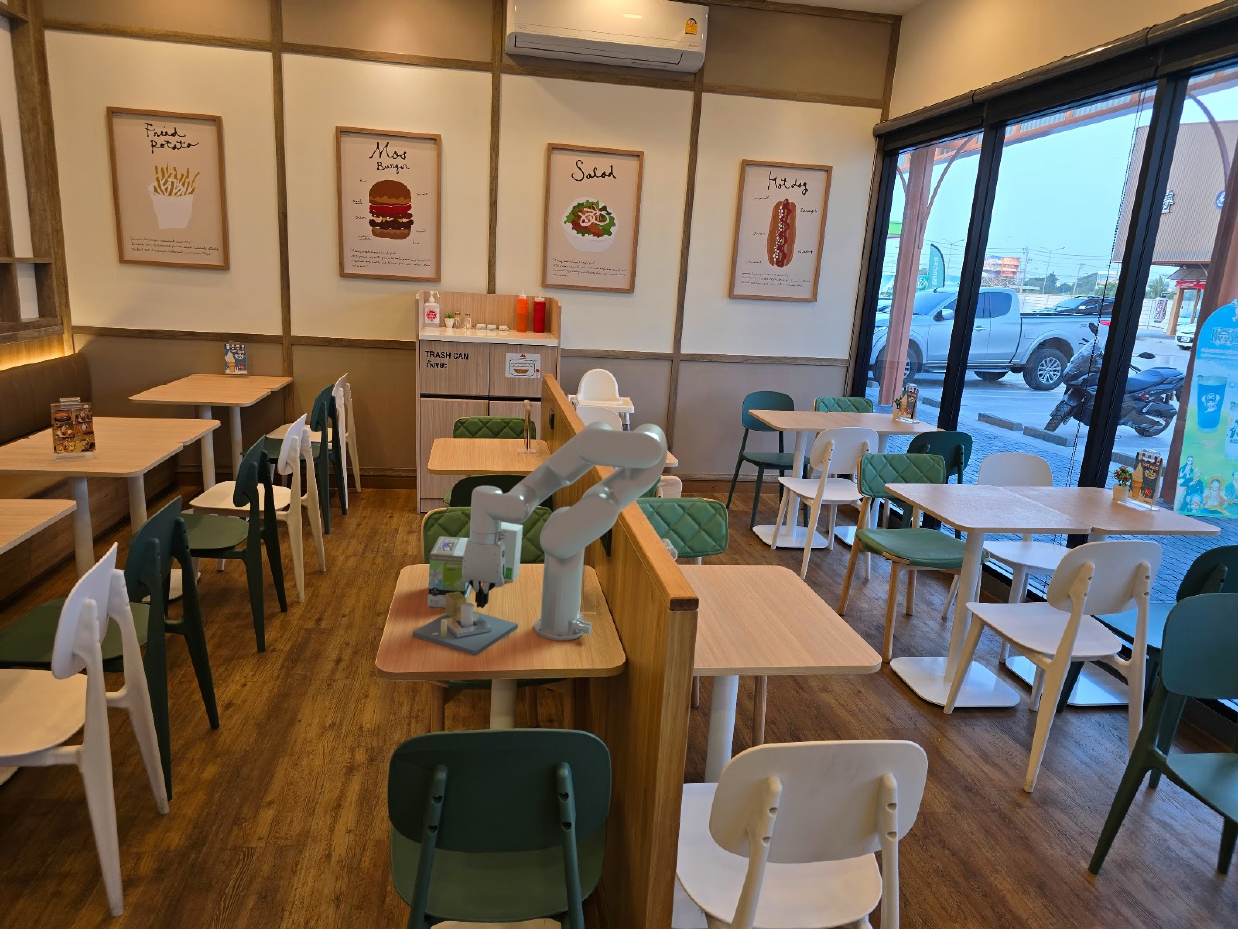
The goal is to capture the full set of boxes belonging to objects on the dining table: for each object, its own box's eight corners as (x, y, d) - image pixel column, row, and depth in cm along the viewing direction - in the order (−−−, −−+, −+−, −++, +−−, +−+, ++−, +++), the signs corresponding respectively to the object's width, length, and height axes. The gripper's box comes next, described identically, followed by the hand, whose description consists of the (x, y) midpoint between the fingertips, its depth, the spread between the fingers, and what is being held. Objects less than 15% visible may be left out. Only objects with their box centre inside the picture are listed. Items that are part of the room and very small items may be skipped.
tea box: (465, 609, 212) (467, 555, 209) (426, 607, 211) (427, 553, 208) (472, 587, 227) (475, 536, 223) (436, 585, 226) (437, 534, 223)
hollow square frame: (491, 630, 198) (492, 609, 196) (456, 637, 193) (457, 616, 191) (468, 609, 208) (469, 589, 207) (434, 616, 203) (435, 595, 202)
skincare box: (485, 578, 234) (488, 526, 230) (493, 570, 240) (495, 520, 236) (514, 582, 232) (516, 530, 229) (520, 574, 239) (523, 523, 235)
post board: (517, 628, 203) (519, 602, 202) (475, 656, 187) (476, 627, 186) (458, 611, 211) (459, 585, 209) (412, 636, 195) (413, 608, 193)
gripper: (518, 535, 203) (514, 604, 207) (460, 528, 205) (457, 596, 209) (510, 545, 196) (506, 615, 200) (450, 537, 198) (447, 607, 202)
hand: (481, 605), depth 205 cm, fingers closed
